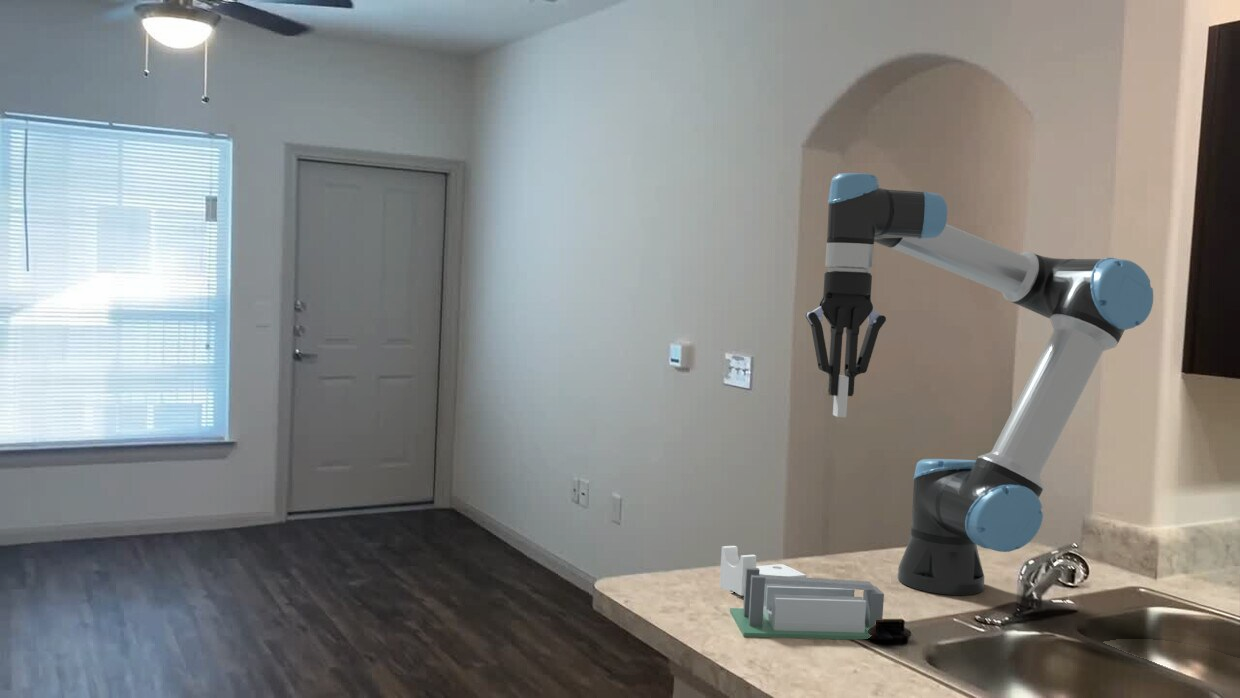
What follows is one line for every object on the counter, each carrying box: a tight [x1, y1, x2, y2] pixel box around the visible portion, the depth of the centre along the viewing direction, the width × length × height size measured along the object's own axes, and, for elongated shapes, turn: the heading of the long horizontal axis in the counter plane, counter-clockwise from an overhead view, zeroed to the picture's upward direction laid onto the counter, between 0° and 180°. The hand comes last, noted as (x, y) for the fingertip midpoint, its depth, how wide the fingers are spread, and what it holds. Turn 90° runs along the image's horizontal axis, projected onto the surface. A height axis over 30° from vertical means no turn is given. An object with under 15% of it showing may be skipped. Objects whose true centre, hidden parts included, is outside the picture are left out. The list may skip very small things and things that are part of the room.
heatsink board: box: [729, 568, 885, 640], centre depth 168 cm, size 23×12×8 cm, turn 94°
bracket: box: [719, 545, 807, 597], centre depth 186 cm, size 13×7×8 cm, turn 116°
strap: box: [750, 574, 874, 591], centre depth 167 cm, size 19×2×1 cm, turn 94°
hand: (839, 415), depth 174 cm, fingers closed
